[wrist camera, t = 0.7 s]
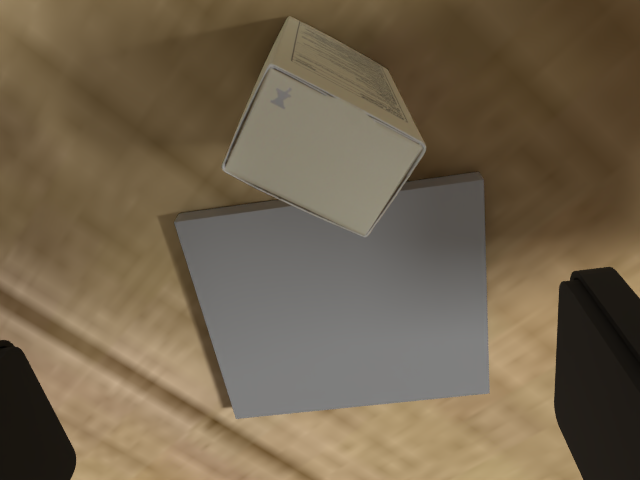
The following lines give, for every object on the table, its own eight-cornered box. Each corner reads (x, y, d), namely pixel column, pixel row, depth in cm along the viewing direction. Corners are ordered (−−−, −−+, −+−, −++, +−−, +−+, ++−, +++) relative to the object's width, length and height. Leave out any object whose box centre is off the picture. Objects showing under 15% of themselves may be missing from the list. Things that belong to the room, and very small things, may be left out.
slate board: (478, 171, 32) (483, 179, 31) (485, 381, 40) (489, 393, 39) (178, 213, 34) (174, 222, 33) (238, 406, 41) (236, 418, 40)
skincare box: (253, 88, 30) (207, 168, 20) (288, 12, 29) (259, 55, 18) (356, 141, 32) (367, 245, 21) (396, 72, 30) (431, 146, 19)
